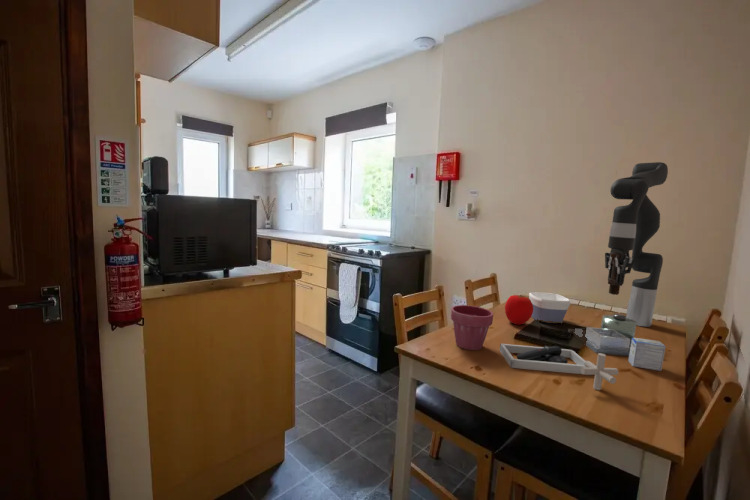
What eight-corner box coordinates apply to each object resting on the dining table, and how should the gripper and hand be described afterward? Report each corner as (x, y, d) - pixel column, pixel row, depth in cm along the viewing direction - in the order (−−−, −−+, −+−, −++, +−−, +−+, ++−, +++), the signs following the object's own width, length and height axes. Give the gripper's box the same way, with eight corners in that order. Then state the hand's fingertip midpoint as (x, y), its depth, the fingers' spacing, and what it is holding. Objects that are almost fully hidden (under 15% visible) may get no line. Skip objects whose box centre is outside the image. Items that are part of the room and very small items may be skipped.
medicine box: (655, 366, 115) (659, 341, 114) (661, 371, 111) (666, 345, 110) (627, 361, 118) (631, 336, 117) (632, 366, 114) (636, 341, 113)
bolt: (617, 292, 129) (623, 253, 127) (626, 296, 124) (632, 254, 122) (601, 291, 130) (607, 251, 128) (609, 295, 125) (615, 253, 123)
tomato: (497, 320, 154) (500, 292, 152) (515, 318, 159) (518, 290, 157) (517, 329, 144) (521, 299, 142) (536, 326, 149) (539, 297, 147)
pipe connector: (568, 379, 102) (573, 346, 101) (600, 379, 103) (605, 347, 102) (592, 398, 92) (598, 362, 91) (627, 398, 93) (633, 363, 92)
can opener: (553, 357, 117) (555, 342, 117) (569, 367, 111) (572, 350, 110) (508, 361, 113) (510, 344, 112) (522, 371, 106) (524, 353, 105)
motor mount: (567, 331, 145) (570, 307, 144) (622, 335, 143) (626, 312, 142) (596, 353, 123) (600, 325, 122) (661, 358, 122) (666, 331, 120)
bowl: (572, 326, 151) (575, 302, 150) (536, 324, 152) (539, 299, 150) (554, 315, 167) (557, 293, 165) (522, 313, 167) (525, 291, 165)
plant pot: (466, 335, 133) (469, 302, 132) (498, 348, 122) (502, 313, 120) (440, 341, 125) (443, 307, 124) (471, 356, 114) (475, 319, 112)
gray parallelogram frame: (499, 350, 120) (500, 343, 120) (571, 356, 119) (572, 349, 118) (511, 367, 107) (511, 359, 107) (591, 375, 106) (592, 367, 105)
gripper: (647, 238, 117) (639, 288, 119) (620, 235, 131) (614, 279, 133) (623, 237, 118) (616, 286, 120) (600, 233, 132) (593, 278, 134)
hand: (615, 282), depth 127 cm, fingers closed on bolt, 4 cm apart
